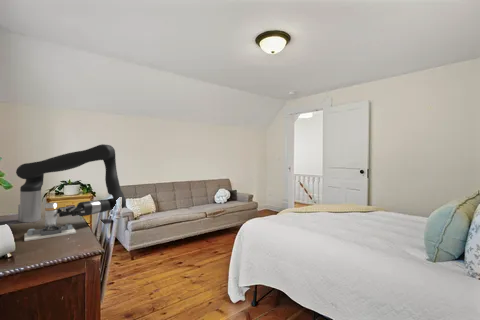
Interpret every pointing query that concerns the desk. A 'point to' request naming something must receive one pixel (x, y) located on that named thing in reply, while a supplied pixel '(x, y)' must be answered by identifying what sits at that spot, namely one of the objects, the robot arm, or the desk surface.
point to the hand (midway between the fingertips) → (54, 213)
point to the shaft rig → (49, 232)
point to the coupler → (50, 216)
